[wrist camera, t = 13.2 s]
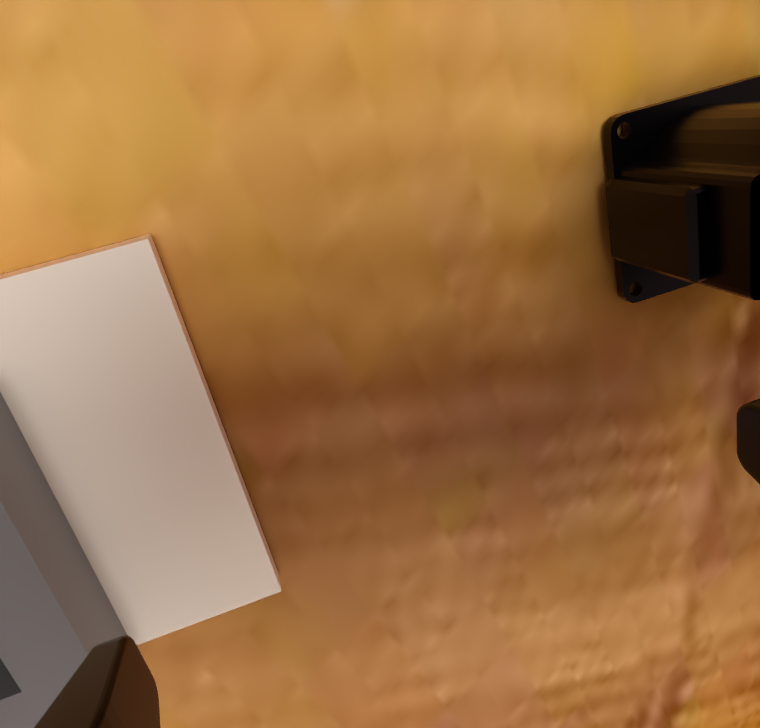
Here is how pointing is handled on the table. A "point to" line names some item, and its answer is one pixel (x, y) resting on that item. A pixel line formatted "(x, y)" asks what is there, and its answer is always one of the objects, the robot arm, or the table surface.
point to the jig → (109, 473)
